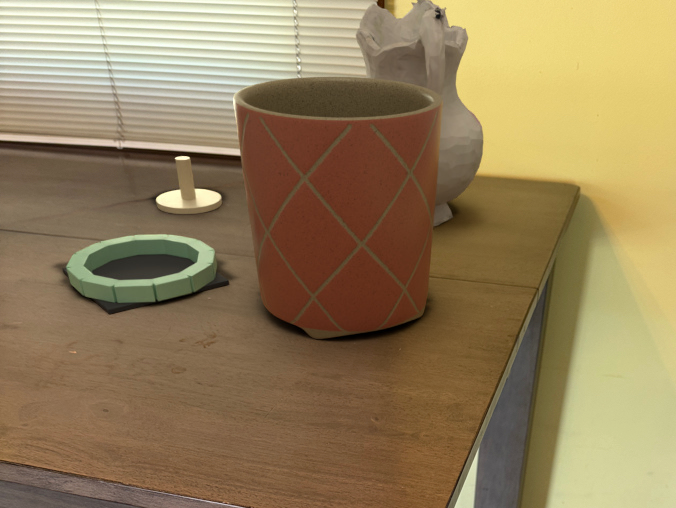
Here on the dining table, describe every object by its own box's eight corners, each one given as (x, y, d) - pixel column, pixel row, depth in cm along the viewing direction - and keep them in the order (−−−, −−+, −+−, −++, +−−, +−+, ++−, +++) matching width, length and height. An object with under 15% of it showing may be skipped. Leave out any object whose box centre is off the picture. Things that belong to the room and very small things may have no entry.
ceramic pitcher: (508, 241, 101) (546, 17, 86) (376, 249, 94) (392, 5, 78) (433, 196, 116) (454, -2, 101) (314, 200, 108) (317, -14, 93)
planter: (466, 322, 79) (483, 107, 66) (300, 361, 72) (283, 127, 59) (380, 262, 92) (380, 71, 79) (230, 290, 84) (203, 84, 71)
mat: (109, 314, 79) (108, 309, 79) (63, 272, 87) (62, 268, 87) (229, 284, 85) (229, 280, 85) (176, 248, 94) (175, 244, 93)
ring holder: (173, 218, 102) (165, 170, 98) (146, 201, 107) (137, 155, 104) (233, 206, 106) (227, 160, 102) (204, 190, 112) (198, 146, 108)
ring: (104, 315, 78) (99, 298, 76) (52, 267, 87) (47, 251, 86) (240, 280, 85) (239, 265, 84) (179, 240, 94) (177, 225, 93)
